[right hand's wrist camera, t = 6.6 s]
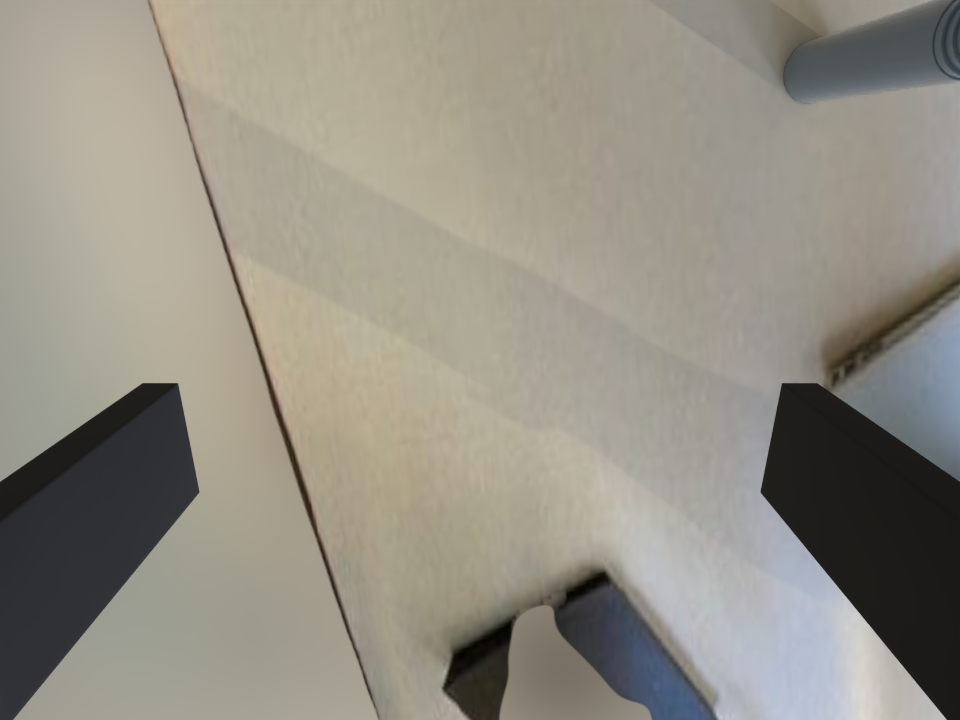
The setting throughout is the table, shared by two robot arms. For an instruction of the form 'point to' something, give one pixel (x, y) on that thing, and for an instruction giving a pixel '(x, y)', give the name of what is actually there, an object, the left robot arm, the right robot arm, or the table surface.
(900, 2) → the table surface
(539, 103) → the table surface
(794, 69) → the bottle
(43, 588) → the right robot arm
